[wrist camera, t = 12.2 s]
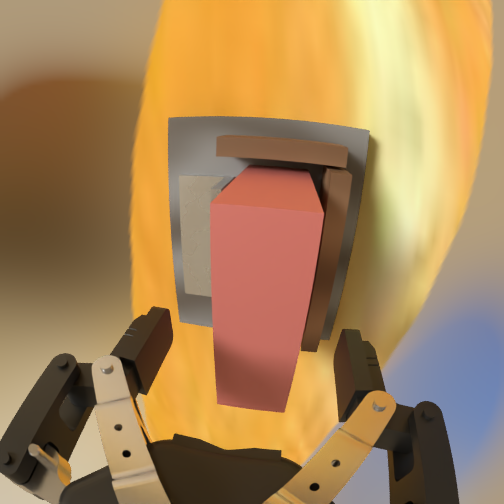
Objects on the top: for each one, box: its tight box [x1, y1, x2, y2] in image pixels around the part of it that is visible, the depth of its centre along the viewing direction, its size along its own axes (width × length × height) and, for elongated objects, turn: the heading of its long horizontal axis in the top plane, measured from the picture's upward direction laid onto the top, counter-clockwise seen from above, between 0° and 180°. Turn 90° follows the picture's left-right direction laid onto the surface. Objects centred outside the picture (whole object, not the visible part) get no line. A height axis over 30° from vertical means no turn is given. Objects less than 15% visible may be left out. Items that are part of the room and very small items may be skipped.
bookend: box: [179, 174, 235, 297], centre depth 20 cm, size 10×4×4 cm, turn 177°
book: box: [210, 165, 324, 412], centre depth 17 cm, size 4×12×10 cm, turn 177°
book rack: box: [168, 116, 370, 352], centre depth 20 cm, size 18×14×6 cm
